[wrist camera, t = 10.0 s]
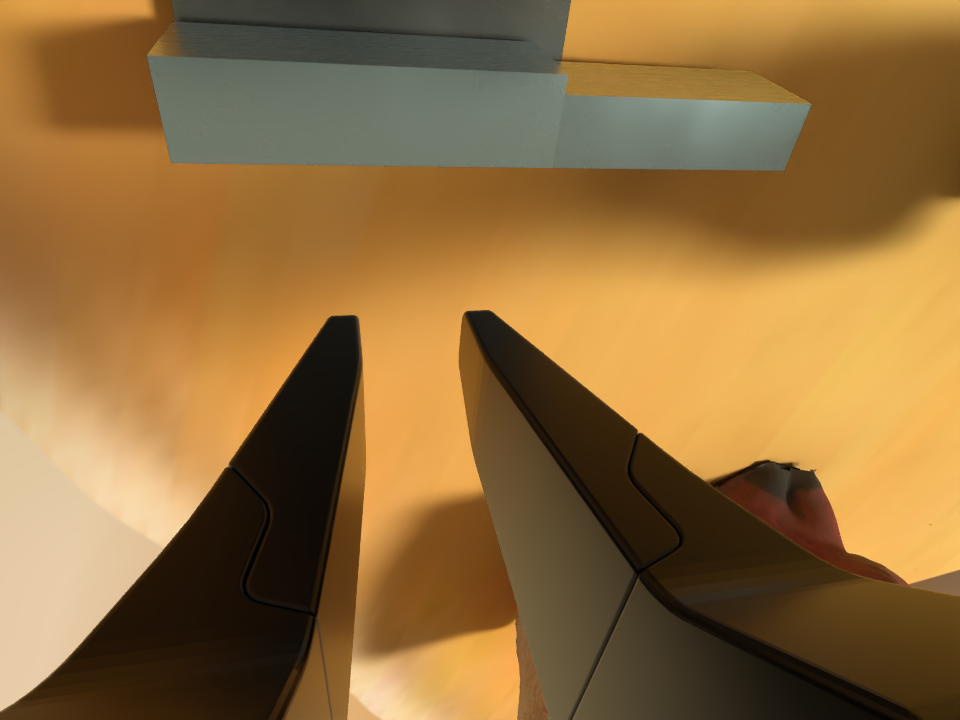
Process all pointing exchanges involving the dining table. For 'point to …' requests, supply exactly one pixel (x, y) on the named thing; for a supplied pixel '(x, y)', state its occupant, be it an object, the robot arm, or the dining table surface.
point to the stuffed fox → (800, 514)
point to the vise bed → (396, 17)
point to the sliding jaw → (453, 104)
